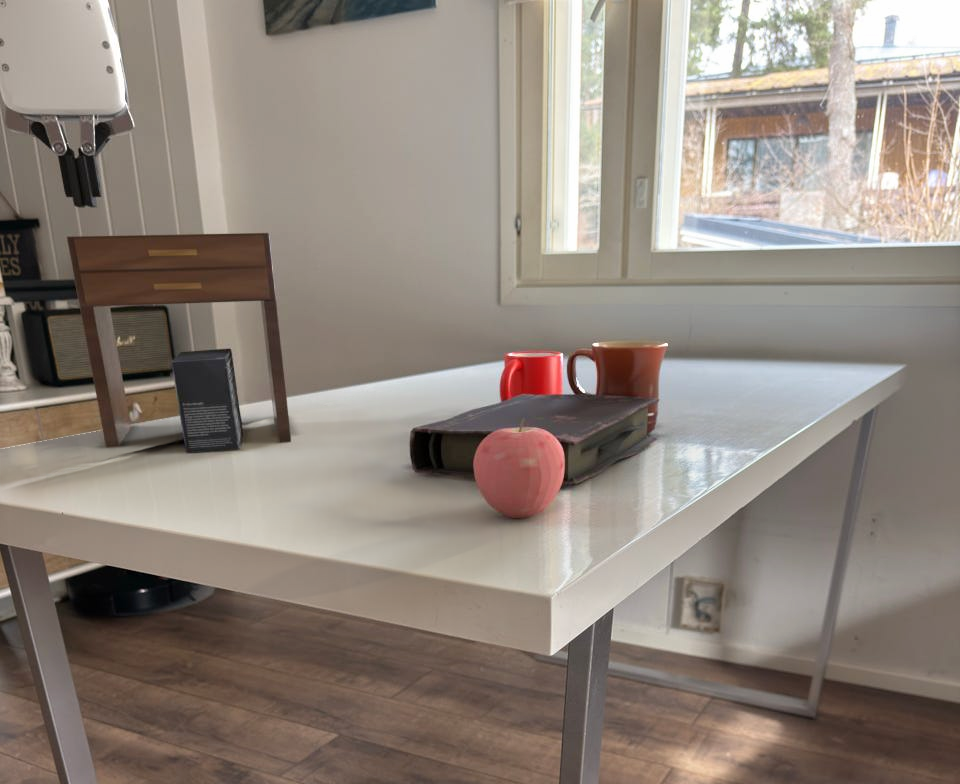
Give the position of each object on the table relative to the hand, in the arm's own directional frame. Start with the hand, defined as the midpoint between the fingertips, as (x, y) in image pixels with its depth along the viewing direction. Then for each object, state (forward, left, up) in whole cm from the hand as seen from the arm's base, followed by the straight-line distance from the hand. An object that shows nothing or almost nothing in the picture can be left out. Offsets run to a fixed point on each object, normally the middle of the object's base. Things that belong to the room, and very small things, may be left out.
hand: (85, 206), depth 82 cm
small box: (-5, +17, -25) cm, 31 cm away
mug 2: (+38, +40, -25) cm, 61 cm away
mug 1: (+23, +48, -25) cm, 59 cm away
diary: (+36, +23, -25) cm, 50 cm away
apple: (+43, +1, -25) cm, 50 cm away
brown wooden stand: (-9, +20, -25) cm, 33 cm away
